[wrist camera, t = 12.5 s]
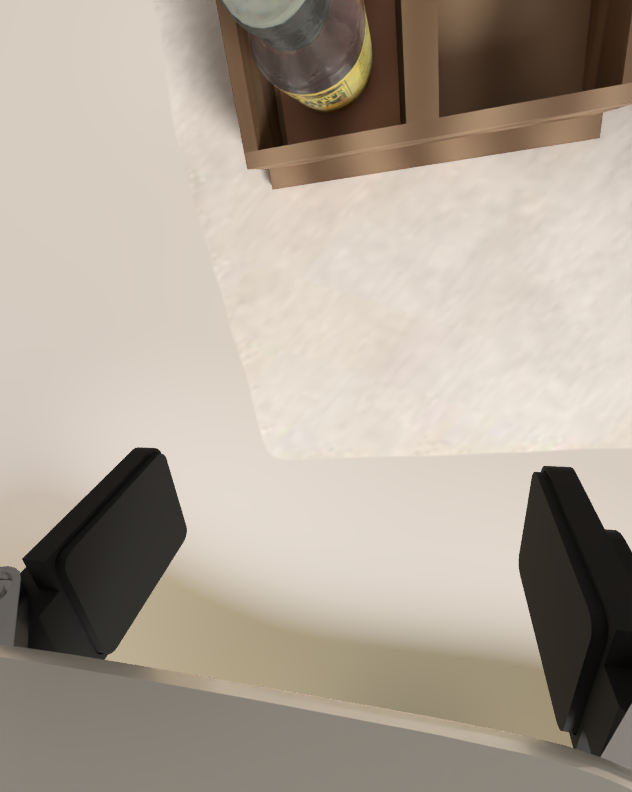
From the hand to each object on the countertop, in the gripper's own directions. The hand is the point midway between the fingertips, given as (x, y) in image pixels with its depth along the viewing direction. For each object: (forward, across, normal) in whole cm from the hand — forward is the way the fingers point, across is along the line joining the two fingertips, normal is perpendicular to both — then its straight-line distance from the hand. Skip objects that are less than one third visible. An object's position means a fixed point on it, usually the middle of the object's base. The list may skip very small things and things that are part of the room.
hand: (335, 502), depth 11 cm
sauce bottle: (+31, +4, -15) cm, 35 cm away
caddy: (+33, -2, -15) cm, 36 cm away
